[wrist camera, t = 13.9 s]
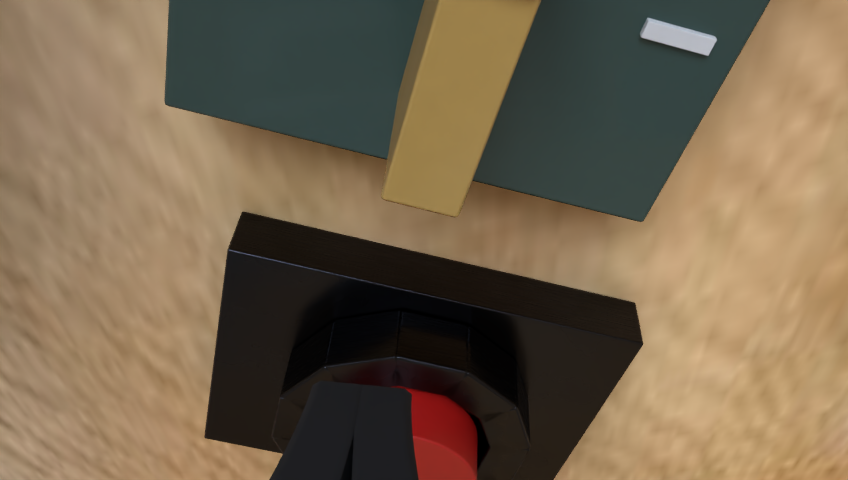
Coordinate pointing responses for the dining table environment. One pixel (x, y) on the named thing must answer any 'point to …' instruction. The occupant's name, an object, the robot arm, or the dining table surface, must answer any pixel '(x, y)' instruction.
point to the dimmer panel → (523, 102)
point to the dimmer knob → (452, 98)
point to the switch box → (410, 342)
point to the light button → (442, 438)
